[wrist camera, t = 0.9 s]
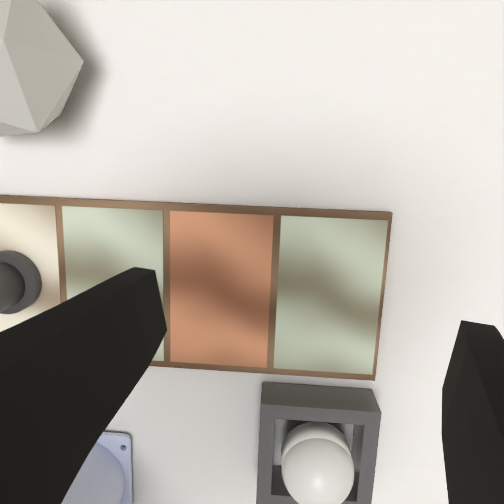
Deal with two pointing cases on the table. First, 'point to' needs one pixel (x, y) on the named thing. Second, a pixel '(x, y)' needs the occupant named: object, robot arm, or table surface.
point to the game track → (221, 277)
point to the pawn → (17, 282)
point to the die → (33, 68)
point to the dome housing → (320, 410)
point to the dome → (317, 464)
